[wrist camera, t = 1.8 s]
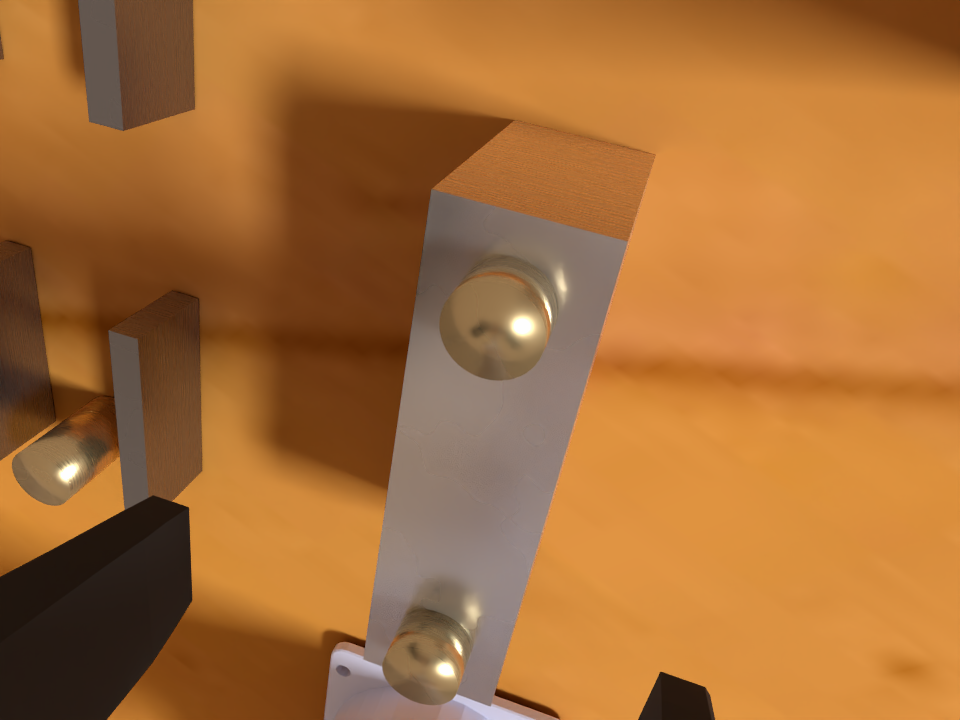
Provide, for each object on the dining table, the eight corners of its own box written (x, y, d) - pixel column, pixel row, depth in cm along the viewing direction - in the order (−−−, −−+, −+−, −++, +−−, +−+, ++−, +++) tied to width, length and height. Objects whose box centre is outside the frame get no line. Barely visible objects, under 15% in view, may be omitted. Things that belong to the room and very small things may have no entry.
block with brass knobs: (541, 540, 21) (478, 748, 16) (440, 506, 22) (344, 696, 16) (655, 153, 15) (619, 266, 10) (516, 118, 16) (408, 209, 10)
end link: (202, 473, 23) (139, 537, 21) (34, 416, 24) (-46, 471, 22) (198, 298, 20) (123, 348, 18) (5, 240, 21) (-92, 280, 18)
